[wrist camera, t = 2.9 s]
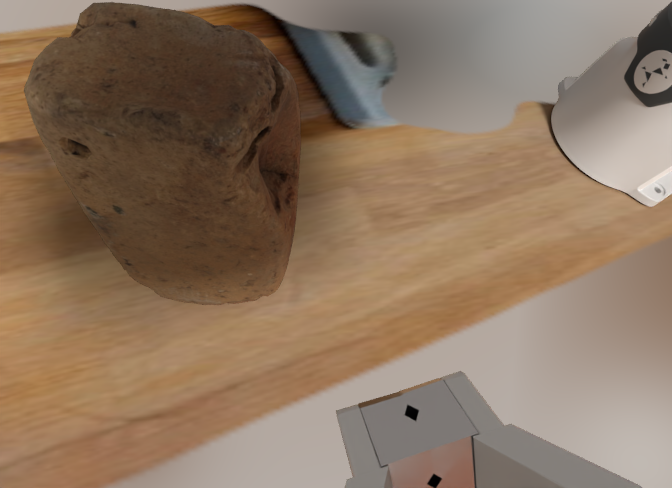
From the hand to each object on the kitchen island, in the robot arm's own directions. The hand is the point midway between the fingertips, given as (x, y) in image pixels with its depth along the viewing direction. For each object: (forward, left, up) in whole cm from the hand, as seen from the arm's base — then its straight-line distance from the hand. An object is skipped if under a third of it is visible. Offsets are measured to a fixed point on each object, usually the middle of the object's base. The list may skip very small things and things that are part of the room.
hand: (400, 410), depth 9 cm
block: (+2, -14, -22) cm, 26 cm away
